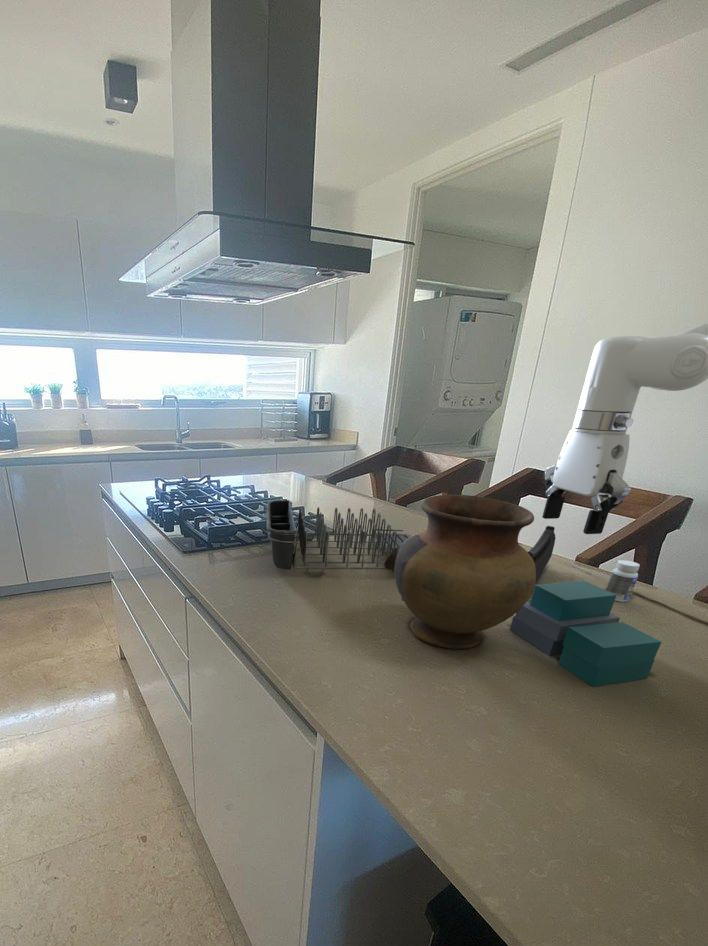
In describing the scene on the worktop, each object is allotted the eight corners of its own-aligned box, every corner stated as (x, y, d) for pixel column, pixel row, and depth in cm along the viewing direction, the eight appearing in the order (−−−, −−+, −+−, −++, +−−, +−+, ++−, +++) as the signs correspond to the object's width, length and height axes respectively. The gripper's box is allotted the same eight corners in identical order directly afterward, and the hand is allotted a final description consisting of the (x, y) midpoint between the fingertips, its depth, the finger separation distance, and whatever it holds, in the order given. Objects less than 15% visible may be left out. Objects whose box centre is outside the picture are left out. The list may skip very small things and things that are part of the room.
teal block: (577, 599, 93) (583, 580, 92) (609, 615, 87) (616, 595, 86) (529, 604, 91) (535, 584, 89) (559, 621, 85) (565, 600, 83)
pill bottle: (629, 604, 107) (642, 568, 103) (604, 599, 109) (616, 563, 105) (628, 597, 110) (641, 562, 107) (603, 592, 112) (615, 557, 109)
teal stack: (608, 655, 86) (621, 620, 83) (647, 678, 80) (663, 641, 77) (555, 663, 83) (566, 627, 81) (591, 687, 77) (605, 649, 74)
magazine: (529, 566, 101) (565, 501, 118) (513, 562, 103) (550, 499, 119) (516, 627, 111) (550, 560, 128) (501, 623, 113) (537, 557, 130)
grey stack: (568, 622, 98) (577, 595, 95) (614, 648, 89) (625, 618, 86) (508, 629, 94) (515, 601, 92) (549, 656, 85) (558, 626, 83)
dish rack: (265, 536, 146) (266, 496, 141) (412, 540, 146) (419, 500, 141) (265, 579, 115) (266, 530, 110) (451, 584, 115) (461, 535, 110)
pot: (366, 650, 86) (384, 512, 76) (385, 599, 106) (401, 485, 96) (522, 682, 78) (566, 533, 68) (511, 620, 98) (543, 498, 88)
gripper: (669, 428, 72) (630, 539, 79) (579, 418, 87) (553, 512, 94) (626, 428, 70) (590, 541, 78) (542, 418, 86) (519, 513, 93)
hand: (570, 525), depth 86 cm, fingers open, 9 cm apart
